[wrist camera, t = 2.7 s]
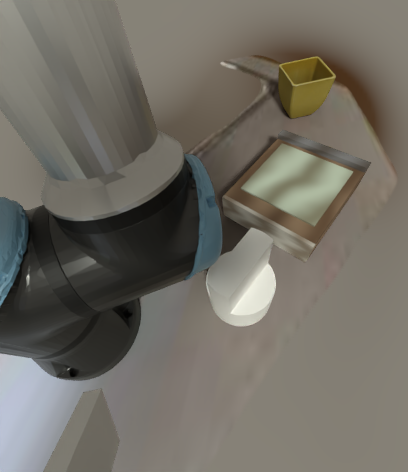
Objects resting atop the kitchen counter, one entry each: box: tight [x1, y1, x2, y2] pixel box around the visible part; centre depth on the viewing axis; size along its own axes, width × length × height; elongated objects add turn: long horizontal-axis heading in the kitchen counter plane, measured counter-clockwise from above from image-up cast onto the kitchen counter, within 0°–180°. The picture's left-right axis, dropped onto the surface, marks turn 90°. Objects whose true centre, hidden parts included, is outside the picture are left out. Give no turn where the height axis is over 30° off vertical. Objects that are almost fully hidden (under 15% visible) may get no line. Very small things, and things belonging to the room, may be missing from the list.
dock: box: [222, 130, 371, 262], centre depth 44 cm, size 16×19×6 cm
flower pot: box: [278, 57, 336, 118], centre depth 56 cm, size 9×9×9 cm
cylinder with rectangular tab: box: [206, 228, 276, 326], centre depth 33 cm, size 9×9×12 cm
